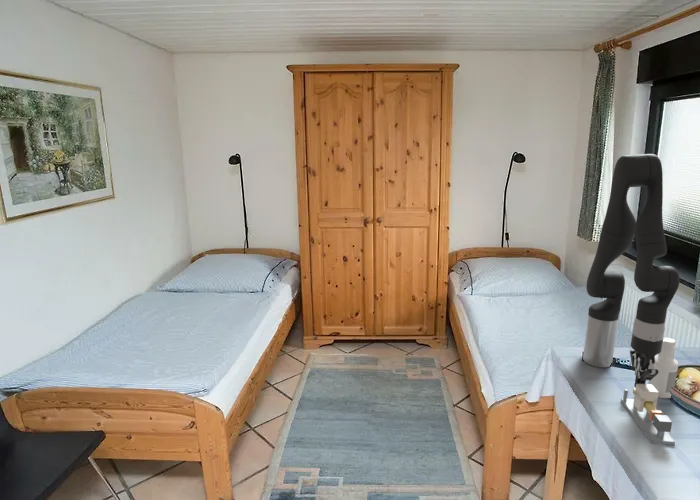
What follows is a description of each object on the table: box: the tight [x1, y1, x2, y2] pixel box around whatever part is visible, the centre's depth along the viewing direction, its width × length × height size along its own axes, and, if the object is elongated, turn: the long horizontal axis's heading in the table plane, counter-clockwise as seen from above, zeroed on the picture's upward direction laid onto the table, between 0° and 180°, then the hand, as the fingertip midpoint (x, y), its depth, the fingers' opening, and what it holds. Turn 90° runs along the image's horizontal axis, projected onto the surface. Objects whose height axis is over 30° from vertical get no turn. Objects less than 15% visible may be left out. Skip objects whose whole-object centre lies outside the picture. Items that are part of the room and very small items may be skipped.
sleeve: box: [633, 383, 659, 412], centre depth 138 cm, size 4×4×6 cm
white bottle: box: [648, 337, 679, 399], centre depth 150 cm, size 7×7×18 cm
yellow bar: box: [632, 387, 673, 433], centre depth 136 cm, size 18×3×3 cm, turn 173°
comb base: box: [620, 388, 676, 446], centre depth 137 cm, size 20×6×4 cm, turn 173°
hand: (639, 388), depth 142 cm, fingers closed
